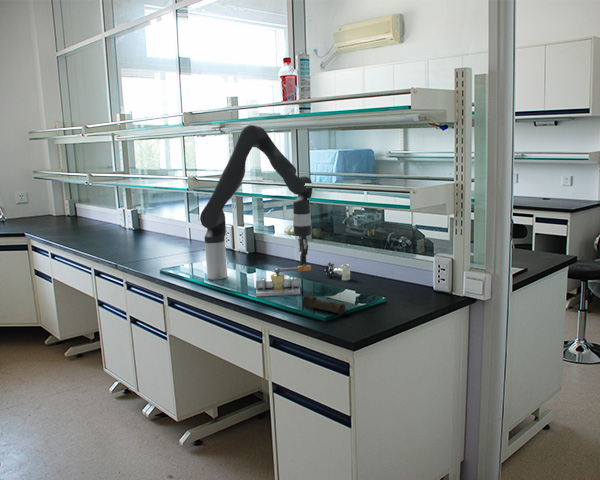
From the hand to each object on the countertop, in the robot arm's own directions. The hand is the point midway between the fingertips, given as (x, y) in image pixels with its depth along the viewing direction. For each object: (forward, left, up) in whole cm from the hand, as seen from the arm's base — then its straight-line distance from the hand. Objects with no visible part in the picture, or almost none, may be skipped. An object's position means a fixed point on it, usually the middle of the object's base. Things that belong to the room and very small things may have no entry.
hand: (303, 263), depth 236 cm
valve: (-8, +16, -10) cm, 20 cm away
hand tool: (+36, +5, -10) cm, 38 cm away
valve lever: (+8, -5, -1) cm, 9 cm away
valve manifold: (+8, -11, -9) cm, 17 cm away
